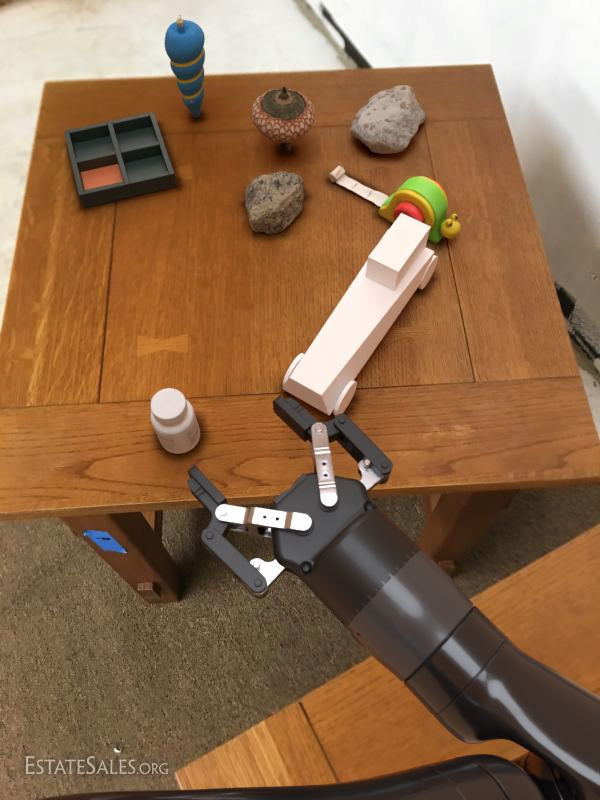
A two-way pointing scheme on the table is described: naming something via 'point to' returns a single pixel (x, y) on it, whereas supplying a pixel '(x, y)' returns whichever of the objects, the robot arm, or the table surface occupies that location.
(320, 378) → the toy truck
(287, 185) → the rock
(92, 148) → the compartment tray
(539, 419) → the table surface
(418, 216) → the toy measuring tape
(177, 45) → the ornament
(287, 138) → the acorn
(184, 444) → the pill bottle
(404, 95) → the decorative stone
